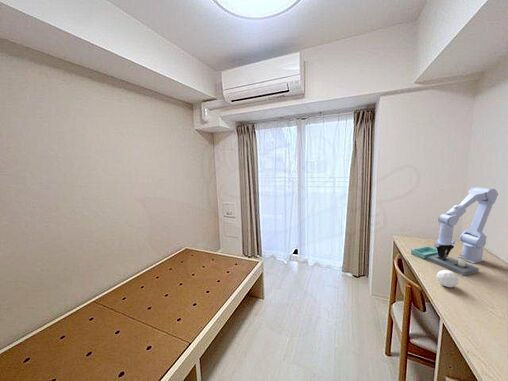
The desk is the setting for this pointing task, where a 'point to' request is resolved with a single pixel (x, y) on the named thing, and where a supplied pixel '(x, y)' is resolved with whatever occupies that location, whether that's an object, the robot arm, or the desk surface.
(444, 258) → the led light bulb
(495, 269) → the desk surface
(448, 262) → the fuse block
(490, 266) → the desk surface
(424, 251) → the tray
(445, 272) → the geometric ball
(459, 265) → the fuse
